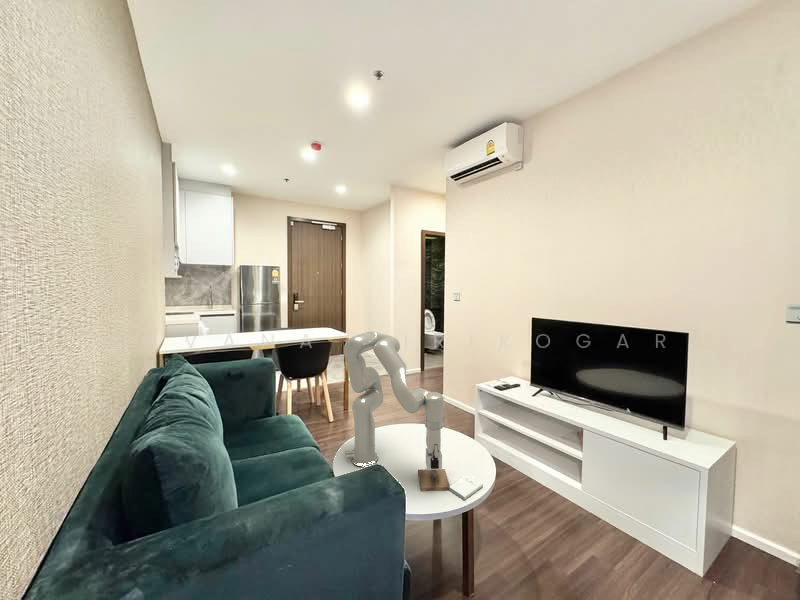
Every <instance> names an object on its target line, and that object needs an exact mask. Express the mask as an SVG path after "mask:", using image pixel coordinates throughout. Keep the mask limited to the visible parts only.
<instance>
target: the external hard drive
mask: <svg viewBox="0 0 800 600" xmlns="http://www.w3.org/2000/svg"><path fill="white" fill-rule="evenodd" d="M483 487H484V482H482V481H479V480H478V479H477V478H475V477H473V476H471V475H469V474H466V475H465V476H463V477H461V478H460V479H458V480H457V481H455V482H454V483H452V484H451V485H450V487H449V490H448V491H450V492H451V493H452V494H454V495H456V497H458V498H460V499H461V500H462V501H466V500H467V499H468V498H470V497H471V496H473V494H475V493H476V492H478V491H479V490H480V489H481V488H483Z"/></svg>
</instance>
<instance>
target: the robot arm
mask: <svg viewBox="0 0 800 600" xmlns="http://www.w3.org/2000/svg"><path fill="white" fill-rule="evenodd" d="M400 349H401V345H400V342H399V340H398V338H396V337H394V336H392V335H389V334H385V333H380V332H376V331H367V332H366V331H365V332H364V333H360V334H357V335H354V336H352V337H351V338H349V339H348V340H346V342H345V344H344V345H343V355H344V359H345V362H346V367H347V373H348V376H349V382H350V386H351V389H352V392H355V393H357V394H360V395H358V396H356V398H355V399H354V401H352V404H351V411H352V415H353V423H354V424H353V427H354V428H353V429H354V449H351V450H345V451H344V453H345V456H346V458H347V459H348V458H351V459H350V460H352V461H351V463H352V462H353V463H355V464H357V463H363V464H364V463H366V464H369V463H368V462H371V461H375V462H376V461H377V460H378V461H379V455H378V453H376V428H375V427H376V425H375V424H376V423H375V418H374V416H373V413H374V412H375V411H376V410H377V409H379V408H380V407H381V406H382V405H383V403H384V392H383V388H382V381H381V377H380V374H379V372H378V371H377V370H376V368H374V367H372V366H367V364H366V360H365V358H364V356H363V355H362V354H364V353H366V352H369V351H372V350H373V353H374V356H376V358H377V359H378V361H379V362H380V364H381V365H382V366H383V368H384V369H385V370H386V372H387V373H386V374H388V375H389V377H390V384H391V388H392V392H393V395H394V397H395V399H396V400H397V402H398V403H399V405H400V406H401V408H403V410H404V411H406V413H409V414H415V413H418V412H419V411H420V410H421V409H422V408H425V410H424V427H425V428H426V431H425V432H426V433H425V434H426V436H425V445H426V448H427V449H428V452H429V453H431V454H432V459H431V469H438V468H439V455H438V453H440V451H441V447H442V445H441V438H442V437H441V429H443V428H444V396H443V394H442V393H440V392H437V391H430V390H428V389H426V388H423V387H418V388H415V389H414V390H412V391H411V389H409V387H408V384H407V381H406V373H407V364H406V362H405V361H404V360H403V359H402V357H401V356H400V354H399V353H398V352H399V351H400ZM363 392H364V393H363ZM361 393H362V394H361ZM433 450H434V452H433ZM433 454H435V455H434V456H433ZM378 461H377V462H378ZM353 463H352V464H353ZM371 463H372V462H371ZM373 464H374V465H375V464H377V463H373ZM369 465H372V464H369ZM369 465H366V466H369ZM362 466H363V465H362ZM372 466H373V465H372ZM363 468H366V467H365V466H364V467H363Z"/></svg>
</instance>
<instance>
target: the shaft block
mask: <svg viewBox="0 0 800 600" xmlns="http://www.w3.org/2000/svg"><path fill="white" fill-rule="evenodd" d="M417 475H418V476H417V477H418V482H419V487H420V488H419V489H420V492H437V491H438V492H439V491H441V492H443V491H449V487H450V486H451V485H450V482H449V478H448V475H447V471H446V469H445V468H442V470H427V468H426V469H417Z"/></svg>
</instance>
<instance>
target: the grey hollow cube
mask: <svg viewBox="0 0 800 600" xmlns="http://www.w3.org/2000/svg"><path fill="white" fill-rule="evenodd" d="M433 452H434V450H433ZM434 455H435V454H433V456H434ZM438 455H439V468H438V469H431V459H432V454H431V453H429V452H428V449H427V447H425V464H426V469H427V470H442V469H443V454H442V451H441V450H440V453H438Z"/></svg>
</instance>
